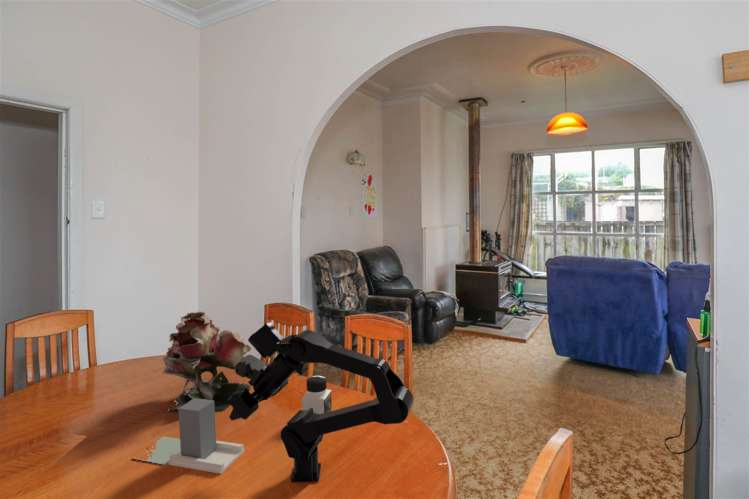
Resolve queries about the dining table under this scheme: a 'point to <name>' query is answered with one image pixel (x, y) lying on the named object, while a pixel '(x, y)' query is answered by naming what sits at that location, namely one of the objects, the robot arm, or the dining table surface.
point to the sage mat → (164, 450)
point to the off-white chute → (211, 458)
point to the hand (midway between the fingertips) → (240, 411)
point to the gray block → (197, 428)
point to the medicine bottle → (317, 395)
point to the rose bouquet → (204, 359)
